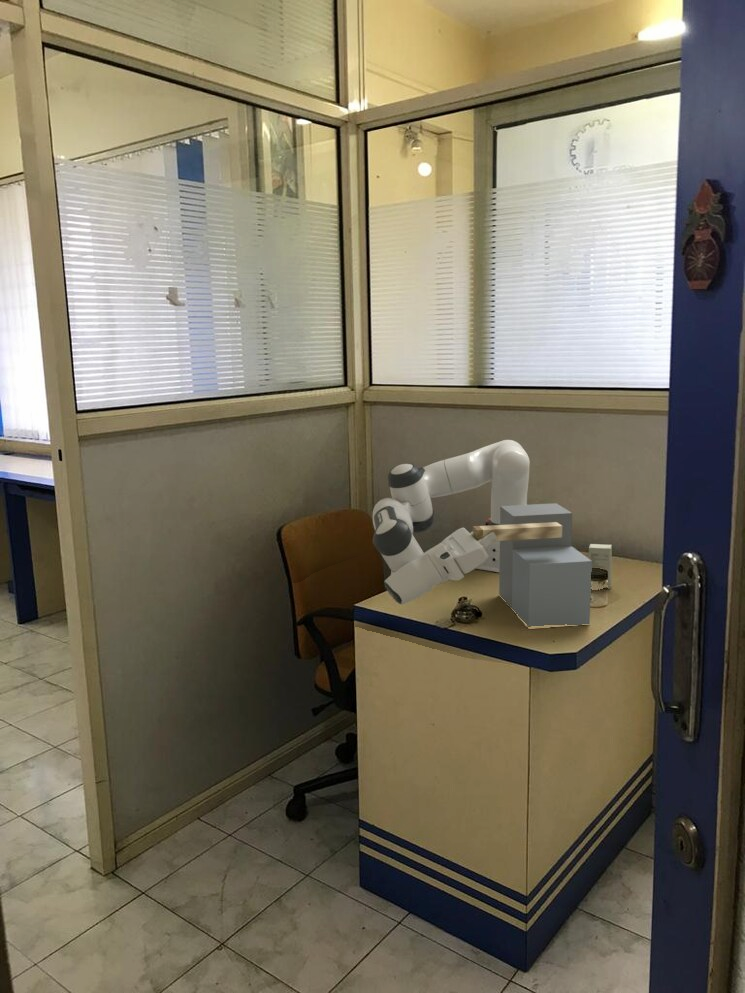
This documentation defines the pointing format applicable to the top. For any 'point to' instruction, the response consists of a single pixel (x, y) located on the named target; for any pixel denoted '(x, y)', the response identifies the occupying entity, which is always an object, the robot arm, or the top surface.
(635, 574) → the top surface
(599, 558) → the skincare box
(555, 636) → the top surface
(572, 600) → the stepped stand
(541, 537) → the birch bar
